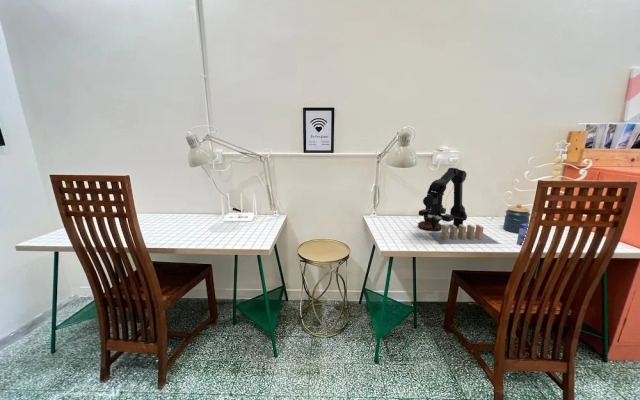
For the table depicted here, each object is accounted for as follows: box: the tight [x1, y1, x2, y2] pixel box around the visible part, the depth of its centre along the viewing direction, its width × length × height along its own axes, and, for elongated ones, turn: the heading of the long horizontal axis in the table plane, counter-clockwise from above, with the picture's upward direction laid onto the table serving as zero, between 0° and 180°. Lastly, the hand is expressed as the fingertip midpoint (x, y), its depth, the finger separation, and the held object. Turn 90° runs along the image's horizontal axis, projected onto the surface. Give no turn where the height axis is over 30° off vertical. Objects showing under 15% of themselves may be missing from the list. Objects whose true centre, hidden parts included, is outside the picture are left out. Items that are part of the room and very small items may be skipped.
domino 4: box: [466, 224, 476, 240], centre depth 157 cm, size 2×5×8 cm, turn 179°
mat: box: [426, 231, 501, 245], centre depth 160 cm, size 19×34×1 cm, turn 89°
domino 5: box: [474, 223, 484, 240], centre depth 157 cm, size 2×5×8 cm, turn 178°
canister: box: [502, 203, 532, 234], centre depth 170 cm, size 13×13×18 cm
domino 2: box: [449, 224, 458, 240], centre depth 157 cm, size 2×5×8 cm, turn 179°
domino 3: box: [457, 224, 467, 240], centre depth 157 cm, size 2×5×8 cm, turn 179°
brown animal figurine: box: [417, 206, 443, 232], centre depth 176 cm, size 15×15×20 cm
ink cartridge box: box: [516, 223, 529, 246], centre depth 147 cm, size 10×6×14 cm, turn 114°
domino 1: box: [441, 224, 450, 240], centre depth 157 cm, size 2×5×8 cm, turn 179°
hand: (434, 229), depth 157 cm, fingers closed
